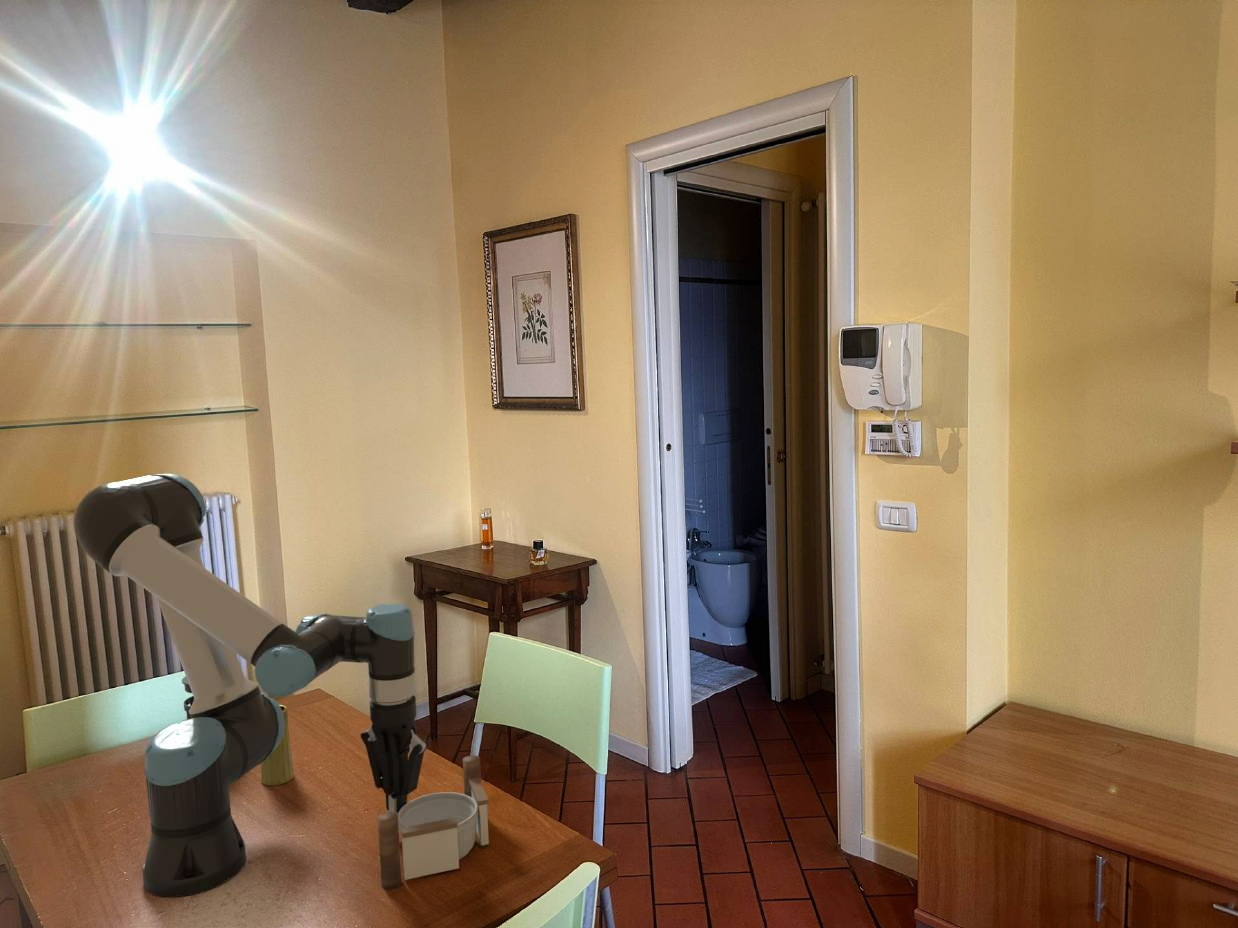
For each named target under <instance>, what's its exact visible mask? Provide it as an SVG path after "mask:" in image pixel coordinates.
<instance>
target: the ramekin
mask: <svg viewBox="0 0 1238 928" xmlns="http://www.w3.org/2000/svg"><path fill="white" fill-rule="evenodd" d="M477 817H478V805H477V803H476V801H475V800H474V799H473V798H471V797H470V796H467V795H465V794H464V793H460V792H453V791H452V792H451V791H446V792H445V791H443V792H433V793H430V794H429V793H428V794H424V795H421V796H418V797H416V798H414V799H412V800H409V801H407V804H405V805H404V806H403V807H402V808H401V809H400V811H399V813H398V827H399V828H400V830H399V831H400V837H401V839H402V833H401V828H404V827H409V826H414V825H419V824H424V823H430V822H435V821H440V820H445V819H450V818H456V821H457V834H458V854H459V861H460V860H462V859H463V858H464V857H465V856H467V855H468V854H469V853H470V851H471V850H472V848H473V847H474V845H475V841H476V834H477V832H476V823H477Z"/></svg>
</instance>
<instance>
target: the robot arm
mask: <svg viewBox="0 0 1238 928" xmlns="http://www.w3.org/2000/svg"><path fill="white" fill-rule="evenodd" d="M206 510H207V507H206V503H205V498H204V497H203V494H202V493H201V490H200V489H199V488H198V487H197V486H196V485H195V483H193V482H191V481H190V480H189V479H188V478H184V476H180V475H179V474H174V473H162V474H160V473H158V474H157V473H156V474H155V473H154V474H153V473H152V474H150V475H145V476H140V477H136V478H131V479H127V480H122V481H121V480H120V481H113V482H108V483H105V484H100V485H99V486H97V487H95V488H93V489H91V490H90V491H88V493H86V495H85V496H84V497H83V498H82V499H81V500H80V502H79V503H78V505H77V507H76V510H75V512H74V518H73V526H74V527H73V529H74V530H73V531H74V534H75V536H76V539H77V541H78V543H79V545H80V547H81V548H82V549H83V550H84V552H85V553H86V554H87V555H88V557H89V558H90V559H92V560H93V562H95V563H96V564H97V565H98V566H100V567H101V568H102V569H104V570H105V571H107V572H108V573H109V574H111V575H112V576H114V577H123V576H126V577H127V578H129V579H130V580H132V581H133V582H135V584H137V585H138V586H140V587H141V588H143V589H145V590H146V591H148V592H149V594H152V595H153V596H155V598H156V600H157V602H158V606H159V608H160V610H161V613H162V614H161V615H162V616H163V618H164V622H165V624H166V627H167V630H168V632H169V635H170V637H171V640H172V643H173V645H174V648H175V650H176V654H177V656H178V658H179V662H180V664H181V666H182V669H183V671H184V674H185V676H186V678H187V680H188V683H189V686H190V688H191V691H192V693H191V694H192V696H194V702H193V704H192V706H191V708H190V710H189V714H190V717H191V719H187V718H186V719H183V720H181V722H179V723H175V722H174V723H172V724H170V725H168V726H165V727H164V728H163V729H160V730H159V731H158V732H157V733H155V734H154V736H152V738H151V739H150V740H149V741H148V743H147V745H146V748H145V753H144V754H145V755H144V757H145V759H144V761H145V762H144V765H143V766H144V768H143V769H144V776H145V779H146V782H145V783H146V788H147V798H148V799H147V800H148V810H149V819H150V828H151V829H150V830H151V831H150V832H151V835H150V839H149V843H148V847H147V852H146V856H145V860H144V863H143V865H142V882H143V887H144V889H145V890H146V891H147V892H148V893H150V894H153V895H156V896H159V897H170V898H171V897H182V896H183V897H185V896H189V895H194V894H198V893H202V892H205V891H207V890H211V889H213V888H215V887H218V886H220V885H222V884H224V883H225V882H227V881H229V880H231V878H234V876H236V875H237V874H238V873H239V872H240V871H241V870H242V869H243V867H244V866H245V864H246V861H247V851H246V850H247V849H246V843H245V840H244V839H243V836H242V835H241V832H240V831H239V828H238V826H237V824H236V823H235V820H234V819H233V816H232V811H231V809H232V808H231V797H230V787H231V786H233V785H234V784H235V783H236V782H238V781H239V780H241V778H243V777H244V776H246V775H247V774H248V773H249V772H251V771H252V770H253V769H254V768H255V767H257V766H259V765H261V763H262V762H264V761H265V760H266V759H267V758H268V757H269V756H270V755H271V753H272V752H273V751H274V750H275V749H276V748H277V747H278V746H279V744H280V742H281V740H282V738H283V735H284V729H285V721H284V715H283V712H282V710H281V708H280V706H279V705H280V704H279V703H278V701H276V699H275V698H271V697H270V696H272V697H273V696H274V697H279V698H282V697H287V696H290V695H292V694H294V693H296V692H298V691H301V690H302V689H304V688H306V687H307V686H308V685H309V684H310V683H312V682H313V681H314V680H315V679H317V678H318V677H319V676H321V675H323V674H324V673H325V672H327V671H329V670H330V669H332V668H333V667H335V666H336V665H338V663H342V662H343V663H358V664H359V663H360V664H361V663H363V664H364V663H366V664H367V668H368V693H369V694H368V696H369V699H370V701H369V715H370V719H369V720H370V721H371V727H370V728H368V729H367V730H365V731H364V732H361V733H360V738H361V741H362V742H363V743H364V745H365V748H366V753H367V757H368V762H369V766H370V769H371V770H370V771H371V773H372V778H373V781H374V785H375V788H377V789H381V790H383V793H384V794H385V808H386V810H387V811H388V812H394V813H396V814H397V815H398V813H399V811H400V809H401V808H402V807H403V806H404V805H405V804H407V803H408V795H410V794H411V793H412V792H414V791H415V790H417V788H418V784H419V780H420V779H419V778H420V774H421V770H422V764H423V759H424V754H425V752H426V751H427V749H428V747H429V745H430V742H429V741H428V740H427V739H423V740H422V739H421V738H420V737H419V736H418V735H417V734H418V733H417V732H418V731H417V729H416V726H415V720H416V717H417V700H416V699H417V698H416V695H415V693H416V675H415V671H416V670H415V667H416V666H415V629H414V622H413V613H412V610H411V609H410V607H408V606H406V605H404V604H401V603H388V604H387V603H382V604H377V605H374V606H371V607H370V608H369V609H368V610H367V611H366V613H365V614H366V615H365V617H364V616H349V615H336V614H334V615H333V614H330V613H329V614H327V613H322V614H309V615H306V616H304V617H303V618H302V619H301V620H300V623H299V624H298V625H297V626H296V630H293V629H292V628H291V627H289V626H287V625H286V624H285V623H283V622H282V621H281V620H279V619H278V618H276V617H274V616H273V615H272V614H270V613H269V612H267V611H266V610H264V609H263V608H262V607H260V606H259V605H257V604H256V603H254V602H253V601H252V600H250V599H249V598H248V597H247V596H245V595H243V594H242V593H240V592H239V591H237V590H236V589H235V588H233V587H232V586H230V585H229V584H227V582H225V581H224V580H223V579H221V578H220V577H218V576H216V575H215V574H214V573H212V572H211V571H210V570H208V569H206V568H205V566H204V564H203V561H202V559H201V555H200V552H199V551H200V548H201V545H202V544H203V542H204V540H205V538H204V536H203V533H202V531H201V526H202V524H203V523H204V521H205V520H204V518H205V516H206V514H207V511H206ZM237 655H238V656H240V657H241V658H242V659H243V660H245V661H247V662H248V663H249V664H251V665H252V666H253V667H254V675H255V679H256V681H257V682H255V681H253V680H251V679H247V677H246V676H245V675H244V671H243V669H242V666H241V663H240V660H239V658H238V656H237ZM259 686H260V687H259ZM261 690H263V692H262V691H261ZM264 692H265V693H264ZM410 745H411V746H410ZM398 831H400V828H399V827H398Z"/></svg>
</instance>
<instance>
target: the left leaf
mask: <svg viewBox="0 0 1238 928" xmlns="http://www.w3.org/2000/svg"><path fill="white" fill-rule="evenodd" d="M401 833H402V838H401V846H402V863H403V877H404V881H406V880H410V879H416V878H420V877H424V876H429V875H435V874H438V873H442V872H447V871H452V870H457V869H460V860H459V854H458V834H457V821H456V818H450V819H445V820H440V821H435V822H430V823H424V824H419V825H414V826H409V827H404V828H401V832H400V834H401Z"/></svg>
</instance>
